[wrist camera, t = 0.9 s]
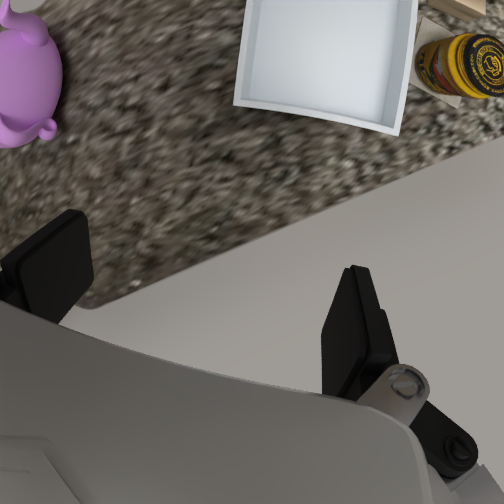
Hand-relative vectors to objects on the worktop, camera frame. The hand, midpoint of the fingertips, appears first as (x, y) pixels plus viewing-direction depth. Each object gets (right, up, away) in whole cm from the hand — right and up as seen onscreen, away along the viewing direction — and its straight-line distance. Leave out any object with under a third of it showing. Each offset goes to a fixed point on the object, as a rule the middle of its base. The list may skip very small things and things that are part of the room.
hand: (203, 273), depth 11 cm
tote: (+9, +24, +15) cm, 30 cm away
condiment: (+22, +21, +15) cm, 34 cm away
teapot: (-28, +26, +21) cm, 43 cm away
